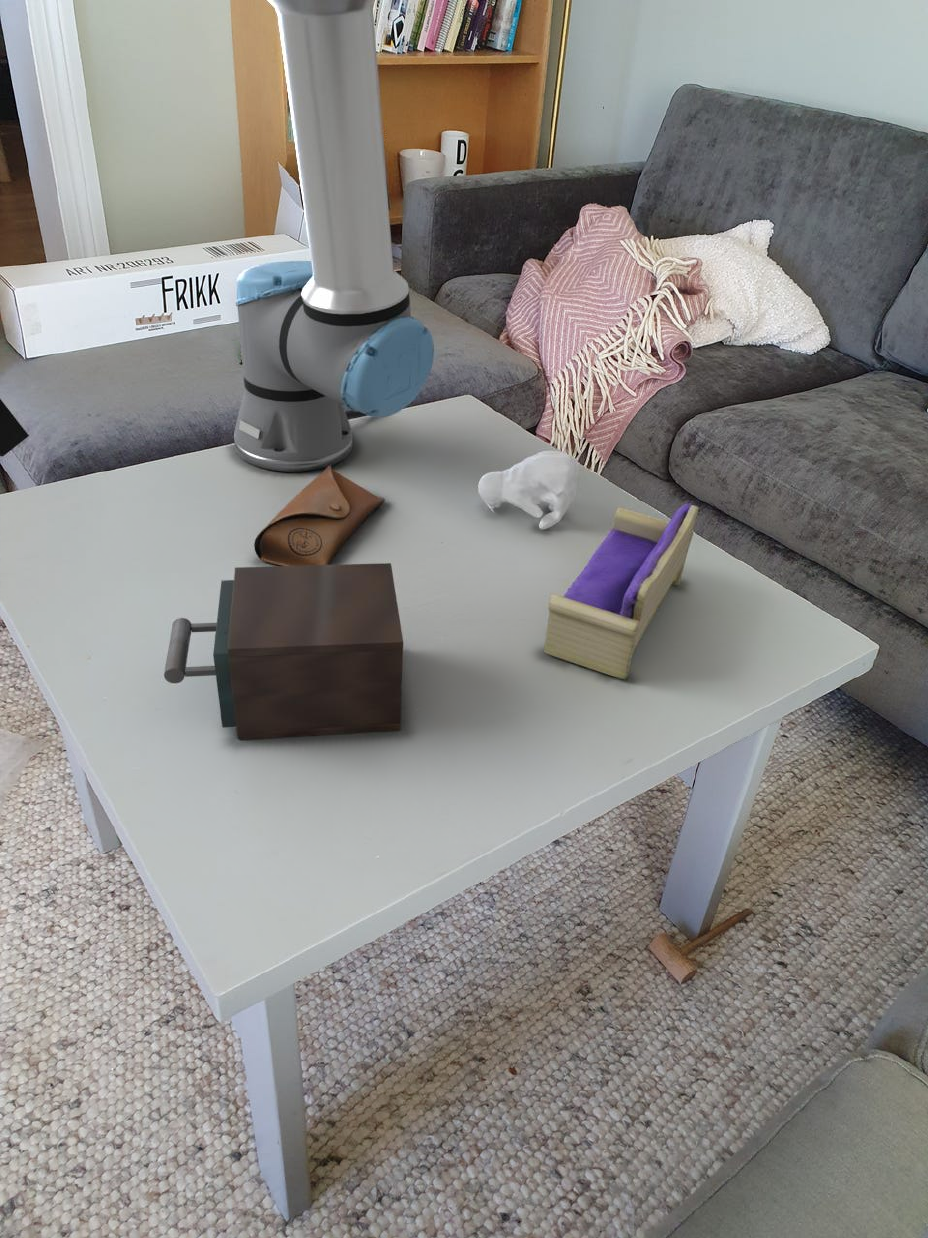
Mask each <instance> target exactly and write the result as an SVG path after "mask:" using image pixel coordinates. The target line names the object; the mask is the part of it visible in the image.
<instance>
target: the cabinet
mask: <svg viewBox="0 0 928 1238" xmlns="http://www.w3.org/2000/svg"><path fill="white" fill-rule="evenodd" d="M233 580H234V584H233V595H232V606H231V617H230V628H229V639H228V657H229V666H230V675H231V684H232V693H233V702H234V710H235V719H236V727H235V729H236V736H237V737H236V738H237V740H256V739H271V738H274V739H275V738H289V737H290V738H292V737H307V736H310V737H311V736H327V735H342V734H343V735H344V734H359V733H362V734H363V733H380V732H381V733H382V732H397V731H401V729H402V704H403V703H402V700H403V699H402V698H403V671H404V670H403V667H404V663H403V662H404V638H403V631H402V624H401V619H400V612H399V605H398V599H397V593H396V587H395V586H396V585H395V580H394V574H393V568H392V563H391V562H385V563H379V562H378V563H354V564H353V563H350V564H349V563H348V564H329V565H308V566H277V565H273V566H243V567H239V566H238V567H234V574H233Z"/></svg>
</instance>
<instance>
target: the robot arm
mask: <svg viewBox="0 0 928 1238" xmlns="http://www.w3.org/2000/svg"><path fill="white" fill-rule="evenodd" d="M375 1H376V0H267V2H269V3H270V4H271V5H272V6H273V8H274V9H275V12H276V14H277V20H278V28H279V34H280V42H281V49H282V56H283V63H284V71H285V79H286V87H287V94H288V101H289V102H288V103H289V108H290V116H291V123H292V130H293V138H294V144H295V152H296V160H297V167H298V175H299V182H300V183H299V184H300V190H301V197H302V203H303V212H304V219H305V226H306V227H305V228H306V235H307V240H308V247H309V256H310V260H288V261H276V262H268V263H267V262H266V263H262V264H258V265H257V264H256V265H254V266H251V267H248V268H246V269H244V270H243V271H242V272H241V273H240V274H239V275H238V277H237V279H236V297H235V298H236V300H235V306H236V307H237V316H238V317H237V318H238V328H239V338H240V339H239V340H240V350H241V363H242V374H243V385H244V386H243V387H244V388H243V389H244V391H243V396H242V400H241V404H240V408H239V412H238V416H237V420H236V424H235V427H234V434H233V441H234V449H235V453H236V454H237V455H238V457H240V458H241V459H242V460H243V461H244V462H247V463H248V464H250V465H252V466H255V467H258V468H261V469H266V470H269V471H275V472H276V471H277V472H288V473H289V472H290V473H294V472H298V473H299V472H309V471H316V470H320V469H321V470H322V469H326V468H327V467H328V466H330V465H331V466H333V465H336V464H338V463H340V462H341V461H344V460H345V459H346V458H347V457H348V456H349V455H350V454H351V452H352V451H353V432H352V427H351V424H350V421H349V419H350V418H354V417H355V418H356V417H360V416H369V417H371V418H386V417H390V416H393V415H395V414H397V413H399V412H401V411H402V410H404V409H405V408H407V407H408V406H409V405H410V404H411V403H412V402H413V401H414V400H415V399H416V398H417V397H418V396H419V394H420V392H421V390H422V388H423V387H424V386H425V385H426V383H427V381H428V379H429V376H430V374H431V372H432V368H433V363H434V359H435V343H434V339H433V335H432V333H431V331H430V330H429V328H428V327H427V326H425V324H424V323H423V322H422V321H421V320H420V319H419V318H415V317H413V316H412V314H411V311H412V310H411V300H410V299H411V298H410V286H409V283H408V282H407V280H406V279H405V278H404V277H403V276H402V275H401V274H400V273H398V272H397V271H396V270H395V269H394V260H393V247H392V235H391V233H392V232H391V222H390V221H391V220H390V210H389V209H390V208H389V197H388V196H389V195H388V186H387V185H388V184H387V170H386V158H385V146H384V145H385V144H384V143H385V142H384V132H383V120H382V119H383V118H382V107H381V105H382V104H381V94H380V93H381V92H380V81H379V68H378V67H379V66H378V55H377V42H376V31H375V30H376V29H375V28H376V27H375V17H374V5H375ZM344 407H346V408H347V409H348V410H347V411H345V408H344ZM29 437H30V434H29V433H28V432H27V431H26V429H25V428H24V427H23V426H22V424H21V423H20V422H19V420H18V419H17V418H16V417H15V416H14V413H12V412H11V410H10V409H9V408H8V407H7V405H6V404H5V403H4V401H3V400H2V399H1V398H0V457H4V456H6V455H7V454H8V453H9V452H11V451H12V450H13V449H15V448H16V447H17V446H18V445H20V444H21V443H22V442H24V441H25V440H26V439H27V438H29Z"/></svg>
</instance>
